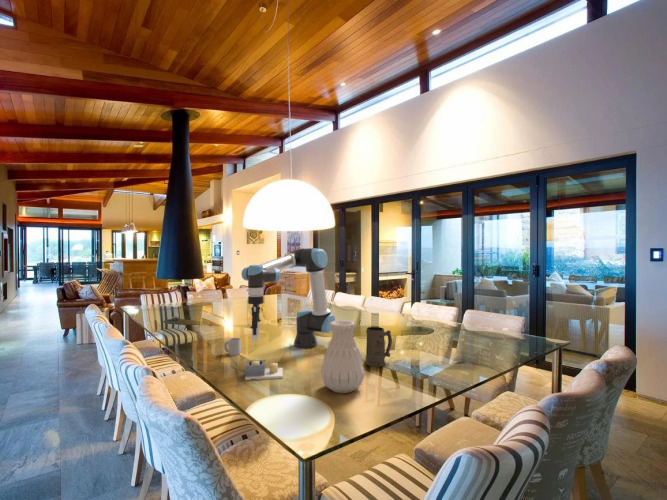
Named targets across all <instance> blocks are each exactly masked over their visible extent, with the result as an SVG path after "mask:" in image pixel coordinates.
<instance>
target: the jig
mask: <svg viewBox="0 0 667 500" xmlns="http://www.w3.org/2000/svg"><path fill="white" fill-rule="evenodd" d="M251 365H260V361H252V362H251ZM278 366H279V365H278V363H277V362H270V363H269V367H268V368H266V367H265V375H264V376H246V375H245V377H244V380H245V381H252V380H251V379H257V380H273V379H275V380H276V379H277V380H278V379H283V377H284V374H283V373H284V367H278Z"/></svg>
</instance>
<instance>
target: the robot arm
mask: <svg viewBox="0 0 667 500" xmlns="http://www.w3.org/2000/svg"><path fill="white" fill-rule="evenodd" d="M328 258H329V257H328V255H327V252H326V251H325V250H324V249H323V248H316V247H315V248H298V249H295V250H292V251H290V252H287V253H285V254H284V255H283V256H281V257H277V258H274V259H272V260H269V261H265V262H262V263H260V264H251V265H248V266H246V267H244V268H243V269H242V270H241V278H242V279H243V280H244V281H245V282H246V281H247V287H248V288H247V289H246V291H247V295H248V297H247V303H248V304H249V305H252V307H251V326H250V329H251V342H253V343H254V342H255V343H256V342H258V341H259V337H258V336H259V335H260V322H261V321H262V320H261V319H260V313H261V306H260V305H261V304H264V296H263V295H264V284H267V283H275V282H278V281H280V279H281V275H282V273H281V271H283V270H286V269H288V268H289V269H293V268H297V267H298V268H305V270H306V271H305V272H307V273H308V274H309V283H310V290H311V297H312V304H313V306H312V307H313V309H304V310H299V311H297V313H296V335H295V338H294V340H293V347H295V348H297V349H312V348H315V347H318V341H317V337H316V335H315V332H319V333H323V334H324V333H325V334H328V333H331V332H333V331H332V329H331V328H330V326H329V323H330V322H333V321H336V316H334V315H333V314H331V309H329V308H328V303H327V295H326V294H327V293H326V286H325V285H326V284H325V279H324V271H325V269H326V267H327V265H328V263H329V262H328V261H329V260H328Z"/></svg>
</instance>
